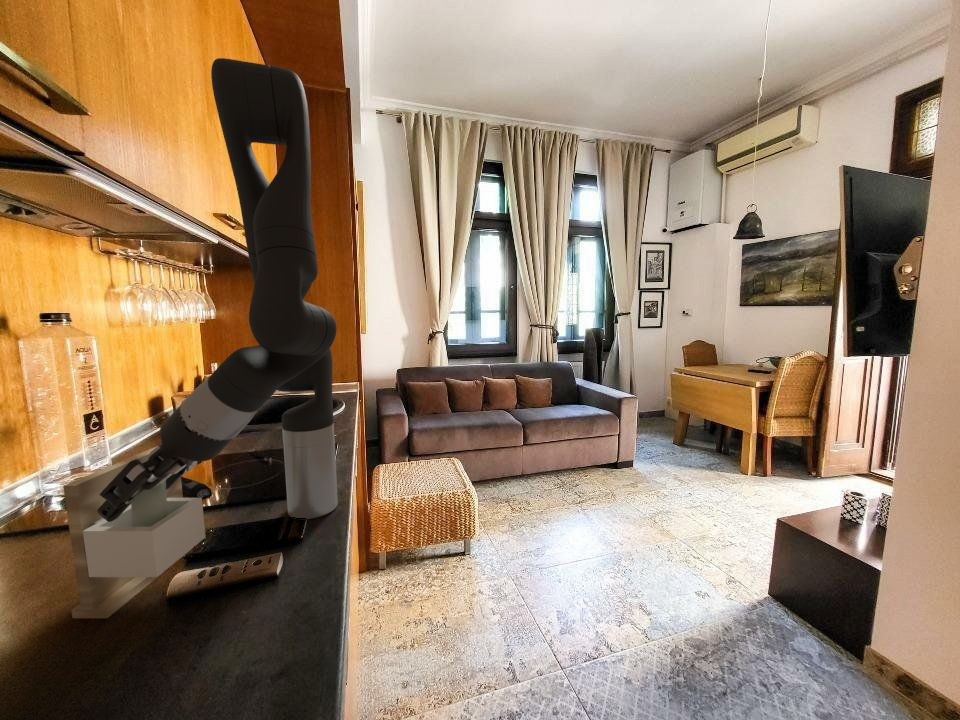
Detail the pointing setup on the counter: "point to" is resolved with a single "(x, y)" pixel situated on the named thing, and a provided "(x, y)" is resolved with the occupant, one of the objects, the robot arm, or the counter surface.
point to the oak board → (82, 506)
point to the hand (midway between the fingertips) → (135, 499)
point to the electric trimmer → (195, 489)
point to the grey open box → (144, 541)
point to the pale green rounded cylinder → (150, 506)
